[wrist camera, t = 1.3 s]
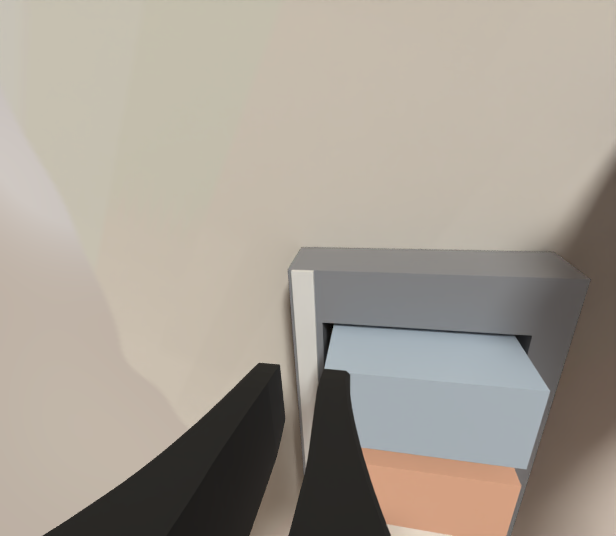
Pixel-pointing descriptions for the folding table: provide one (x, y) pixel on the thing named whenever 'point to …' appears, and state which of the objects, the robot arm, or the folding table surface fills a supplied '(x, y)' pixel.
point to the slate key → (441, 392)
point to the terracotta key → (443, 493)
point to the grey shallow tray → (434, 307)
